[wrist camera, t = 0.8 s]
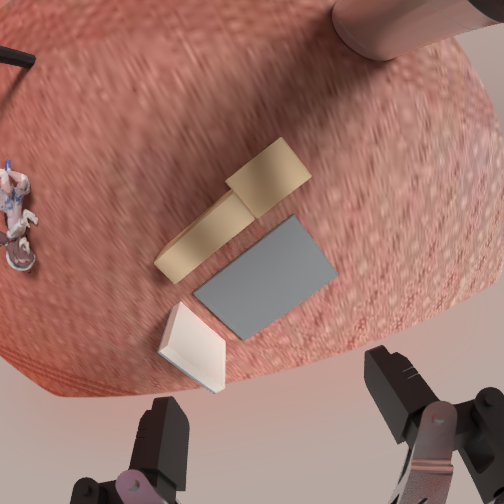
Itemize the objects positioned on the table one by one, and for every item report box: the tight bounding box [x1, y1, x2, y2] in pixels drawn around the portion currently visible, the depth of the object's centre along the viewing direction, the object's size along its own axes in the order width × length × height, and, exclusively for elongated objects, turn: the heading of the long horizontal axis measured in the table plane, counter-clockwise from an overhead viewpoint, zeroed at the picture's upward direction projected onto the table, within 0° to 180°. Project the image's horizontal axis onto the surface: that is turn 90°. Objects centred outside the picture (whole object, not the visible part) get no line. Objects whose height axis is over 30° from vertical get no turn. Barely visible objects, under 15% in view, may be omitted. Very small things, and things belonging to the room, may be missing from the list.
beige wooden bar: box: [154, 137, 312, 285], centre depth 26 cm, size 17×5×4 cm, turn 129°
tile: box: [157, 301, 226, 394], centre depth 29 cm, size 2×8×8 cm, turn 39°
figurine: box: [0, 160, 38, 273], centre depth 21 cm, size 12×9×15 cm
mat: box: [193, 214, 338, 341], centre depth 31 cm, size 14×9×1 cm, turn 129°
